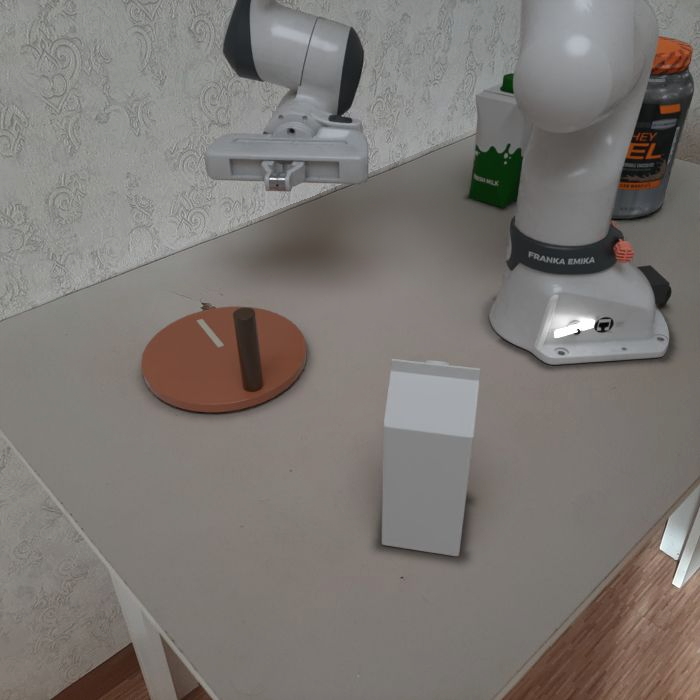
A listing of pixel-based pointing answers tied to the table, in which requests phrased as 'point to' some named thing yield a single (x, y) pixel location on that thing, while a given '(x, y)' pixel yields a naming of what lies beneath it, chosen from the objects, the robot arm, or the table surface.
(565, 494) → the table surface
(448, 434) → the milk carton
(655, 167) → the supplement tub
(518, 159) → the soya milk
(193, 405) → the orange disc with rod
